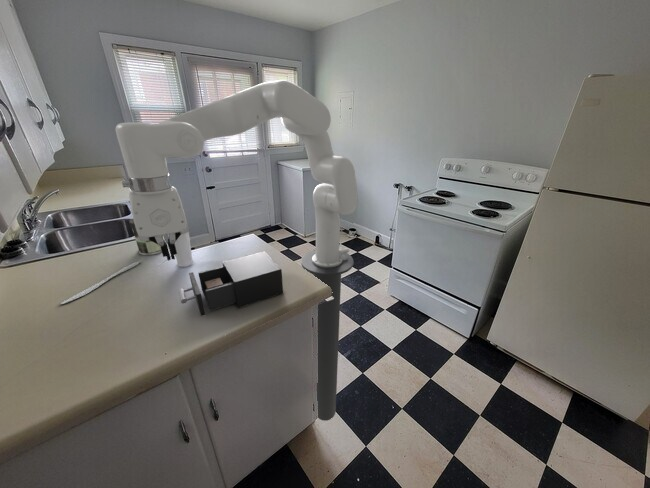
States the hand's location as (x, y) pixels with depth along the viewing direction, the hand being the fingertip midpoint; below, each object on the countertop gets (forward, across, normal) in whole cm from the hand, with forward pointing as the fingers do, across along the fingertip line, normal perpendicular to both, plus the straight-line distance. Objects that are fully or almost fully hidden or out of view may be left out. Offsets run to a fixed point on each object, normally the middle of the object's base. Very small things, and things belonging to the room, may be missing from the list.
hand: (170, 257), depth 67 cm
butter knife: (+20, -21, +37) cm, 47 cm away
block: (+18, +9, +6) cm, 21 cm away
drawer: (+19, +8, +5) cm, 22 cm away
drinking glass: (+20, +4, +36) cm, 41 cm away
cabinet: (+20, +21, +6) cm, 30 cm away
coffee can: (+20, -6, +56) cm, 60 cm away
